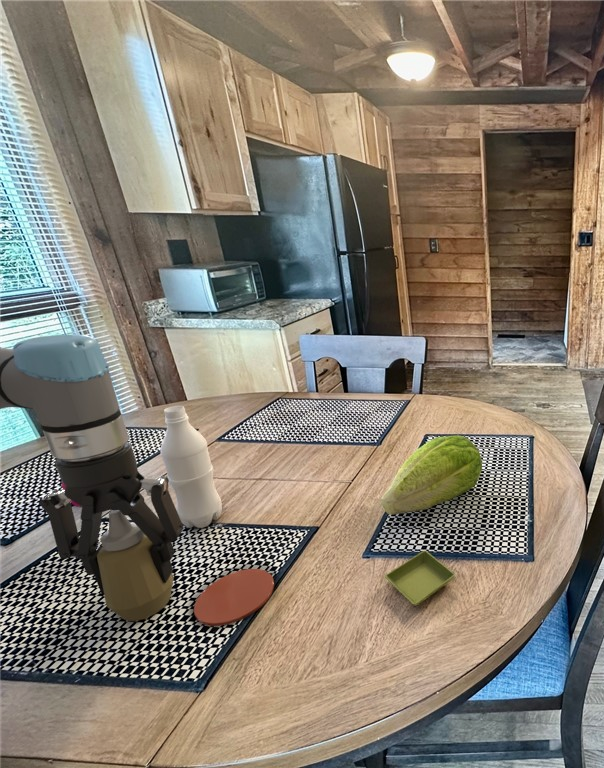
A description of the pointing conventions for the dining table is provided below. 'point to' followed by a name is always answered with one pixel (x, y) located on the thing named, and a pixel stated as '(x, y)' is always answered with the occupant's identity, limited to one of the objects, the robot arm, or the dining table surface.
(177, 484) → the water bottle
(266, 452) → the dining table surface
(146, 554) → the squeeze bottle
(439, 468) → the lettuce
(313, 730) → the dining table surface
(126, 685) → the dining table surface
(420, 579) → the green square tray
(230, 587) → the coaster
